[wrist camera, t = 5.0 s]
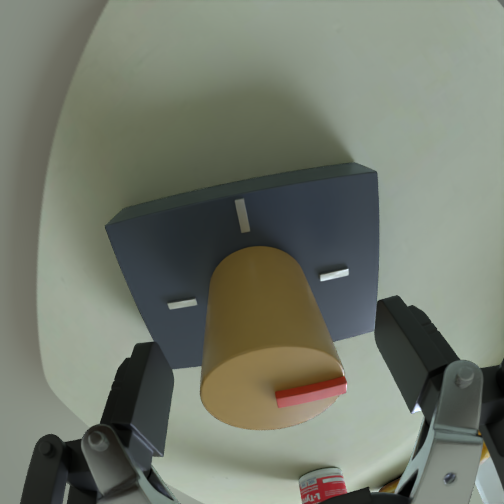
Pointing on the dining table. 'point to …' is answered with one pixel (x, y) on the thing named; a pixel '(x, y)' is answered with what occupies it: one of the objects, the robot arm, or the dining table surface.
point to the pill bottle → (321, 485)
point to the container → (489, 483)
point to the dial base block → (249, 235)
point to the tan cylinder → (266, 344)
